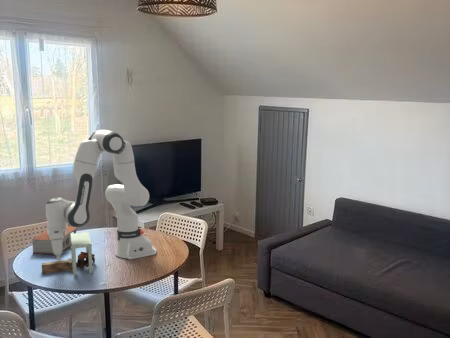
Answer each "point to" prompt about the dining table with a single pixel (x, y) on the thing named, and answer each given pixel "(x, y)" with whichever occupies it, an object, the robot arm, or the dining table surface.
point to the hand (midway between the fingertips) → (59, 256)
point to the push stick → (57, 266)
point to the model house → (44, 243)
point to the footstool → (79, 242)
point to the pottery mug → (81, 262)
